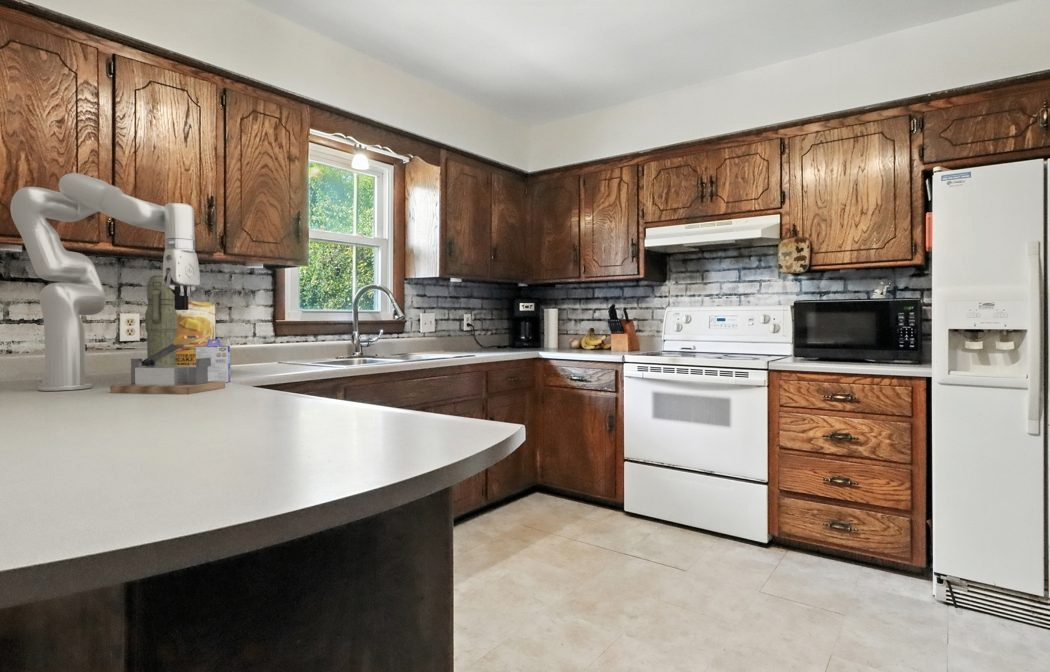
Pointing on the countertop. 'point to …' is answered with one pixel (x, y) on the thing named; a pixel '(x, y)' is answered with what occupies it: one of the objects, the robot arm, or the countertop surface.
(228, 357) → the ink cartridge box
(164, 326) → the green stone totem
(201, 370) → the lug
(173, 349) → the retention strap
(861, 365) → the countertop surface
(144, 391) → the wooden board
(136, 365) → the hinge bracket
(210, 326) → the pancake mix bag
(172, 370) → the heat sink
